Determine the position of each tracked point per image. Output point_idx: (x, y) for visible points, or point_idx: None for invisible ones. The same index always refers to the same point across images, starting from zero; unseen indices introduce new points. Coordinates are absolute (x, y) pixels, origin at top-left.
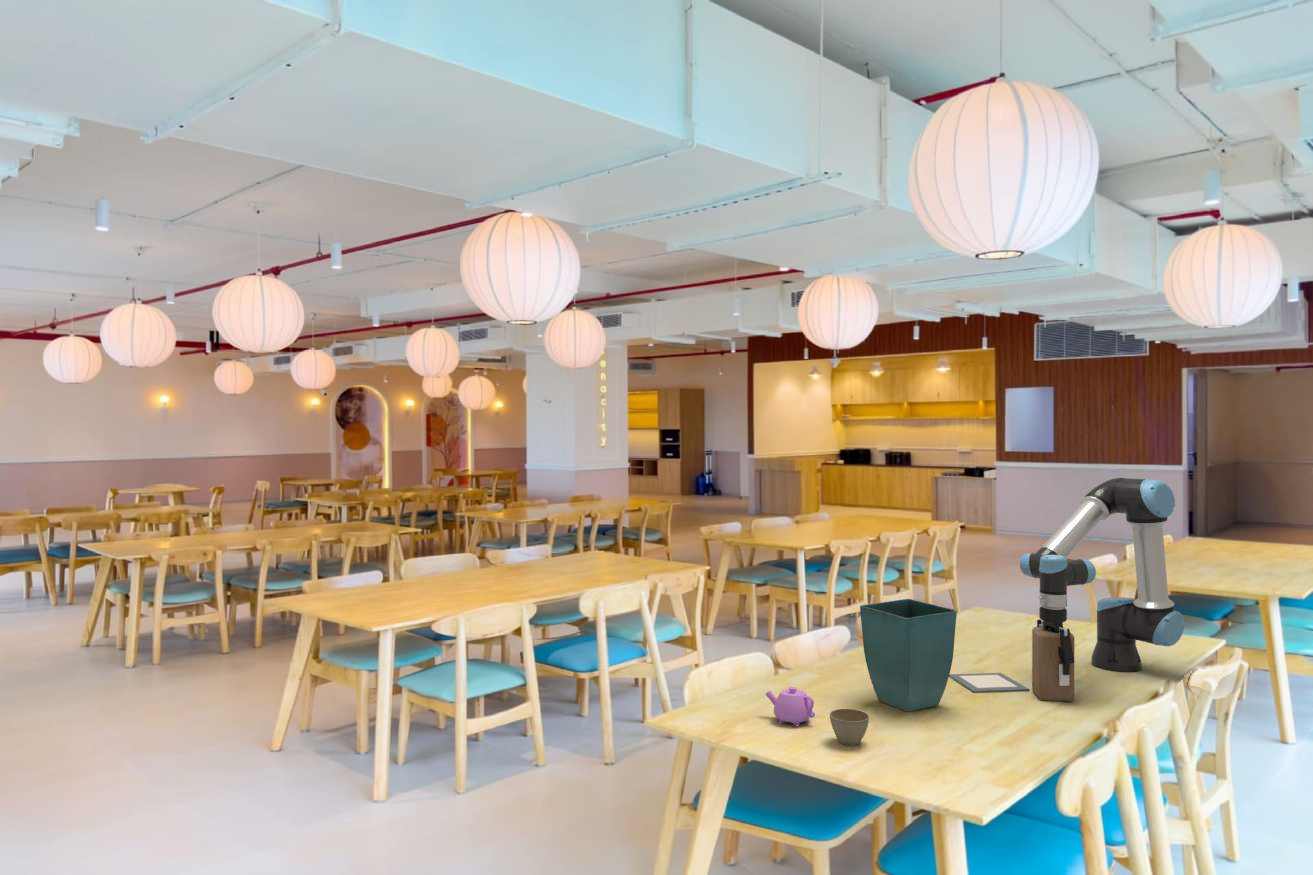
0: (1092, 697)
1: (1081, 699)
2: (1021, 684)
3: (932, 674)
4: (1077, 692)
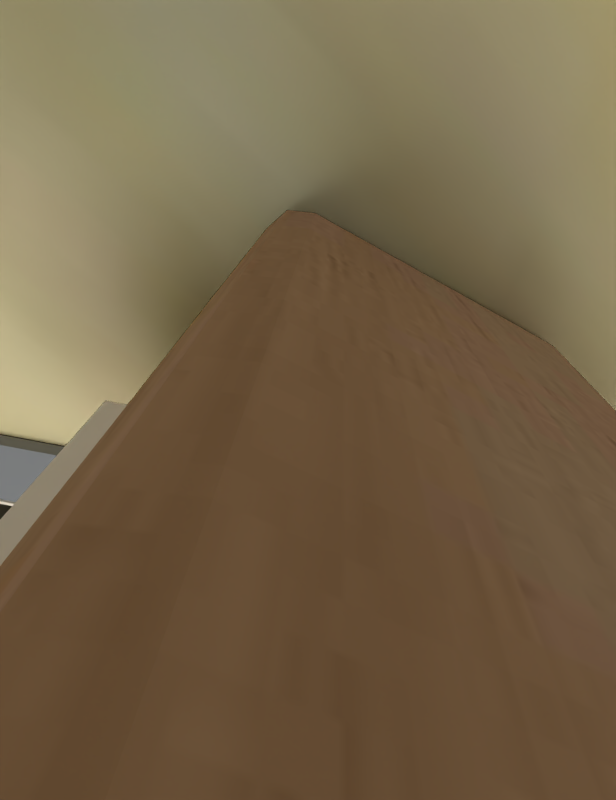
0: (528, 17)
1: (523, 211)
2: (31, 450)
3: None
4: (313, 49)
